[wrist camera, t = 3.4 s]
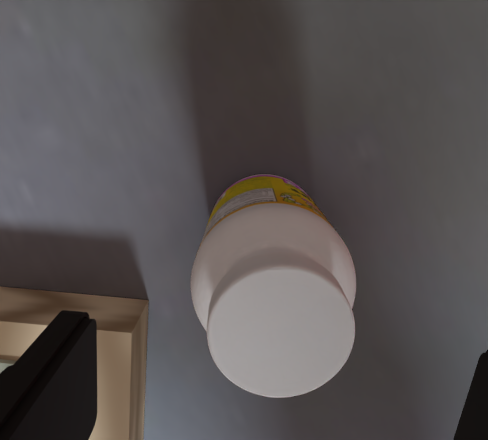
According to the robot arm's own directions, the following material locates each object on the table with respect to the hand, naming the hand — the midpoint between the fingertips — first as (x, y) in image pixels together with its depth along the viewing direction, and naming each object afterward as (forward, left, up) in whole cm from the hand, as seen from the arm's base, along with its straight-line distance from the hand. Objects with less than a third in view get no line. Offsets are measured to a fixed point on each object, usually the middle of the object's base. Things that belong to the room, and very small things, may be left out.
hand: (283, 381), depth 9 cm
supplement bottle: (0, 0, -16) cm, 16 cm away
